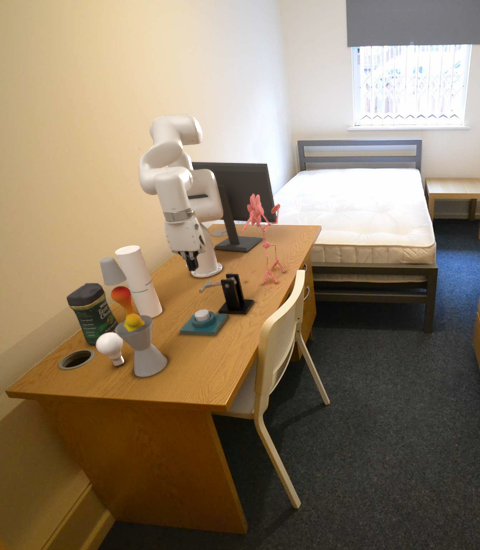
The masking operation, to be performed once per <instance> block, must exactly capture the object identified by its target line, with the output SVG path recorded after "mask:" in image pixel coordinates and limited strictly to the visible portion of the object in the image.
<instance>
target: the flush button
mask: <svg viewBox="0 0 480 550" xmlns="http://www.w3.org/2000/svg"><path fill="white" fill-rule="evenodd" d="M209 311H210V310H208V309H205V308H204V309H199V310H197V311H195V312H194V313H195V318H196V321H198V322H202V321H205V320H207V319H209V318H210V314H209Z"/></svg>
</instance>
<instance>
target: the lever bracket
mask: <svg viewBox="0 0 480 550" xmlns="http://www.w3.org/2000/svg"><path fill="white" fill-rule="evenodd" d="M230 277H235V280H236V282H237V283H236V284H235V283H234V280H229V279H227V278H230ZM220 282H221V285H220V286H221V288H222V292H223V296H224V300H225V302H224V303H223V304H222V306H220V308H219V309H218V312H217V313H218V314H228V315H243V316H244V315H247V314H248V313H249V311H250V309H251V308H252V306H253V305H254V303H255V299H250V298H249V299H248V298H247V299H246V298H245V296H244V292H243V291H244V290H243V288H242V284H241V279H240V275H239V273H226V274H225V279H224V278H222V279H220Z"/></svg>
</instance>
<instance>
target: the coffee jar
mask: <svg viewBox="0 0 480 550" xmlns="http://www.w3.org/2000/svg"><path fill="white" fill-rule="evenodd" d="M66 301H67V304H68V307H69V308H70V309H71V310H72V311H73V313H74V314H75V316H76V319H77V322H78V323H79V326H80V328H81V332H82V334H83V337H84V340H85V342H86V344H88V345H91V346H96V342H97V340H98V338H99V337H100V336H101V335H103V334H105V333H109V332H113V333H116V332H115V328H116V327H117V325H118V324H119V322H118V320H117V319H116V317H115V315H114V313H113V311H112V309H111V307H110V306H109V303H108V300H107V297H106V292H105V290H104V288H103V286H102V285H101V284H100V283H98V282H86V283H84V284H83V285H81V286H80V287H78V288H76V289H75V290H74V291H72V292H71V293H70V294H68V295H67V296H66Z"/></svg>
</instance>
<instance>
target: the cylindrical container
mask: <svg viewBox="0 0 480 550" xmlns="http://www.w3.org/2000/svg"><path fill="white" fill-rule="evenodd" d="M114 255H115V258H116V260H117V263H118V265H119V267H120V268H121V270H122V271H123V273H124V275H125V276H126V278H127V279H126V280H125V283H126V285H127V288H128V289H129V290H130V292H131V298H132V300H133V302H134V305H135V307H136V309H137V312H138V315H146V316H150V317H151V318H152V319H153V318H156V317H158V316H159V315H160V314H162V312H163V307H162V305H161V302H160V299H159V296H158V293H157V290H156V288H155V285H154V283H153V280H152V277H151V274H150V272H149V269H148V266H147V264H146V261H145V258H144V255H143V252H142V249H141V247H140V246H139V245H137V244H135V245H126V246H122V247H119V248H118V249H116V250H115V251H114Z"/></svg>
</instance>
